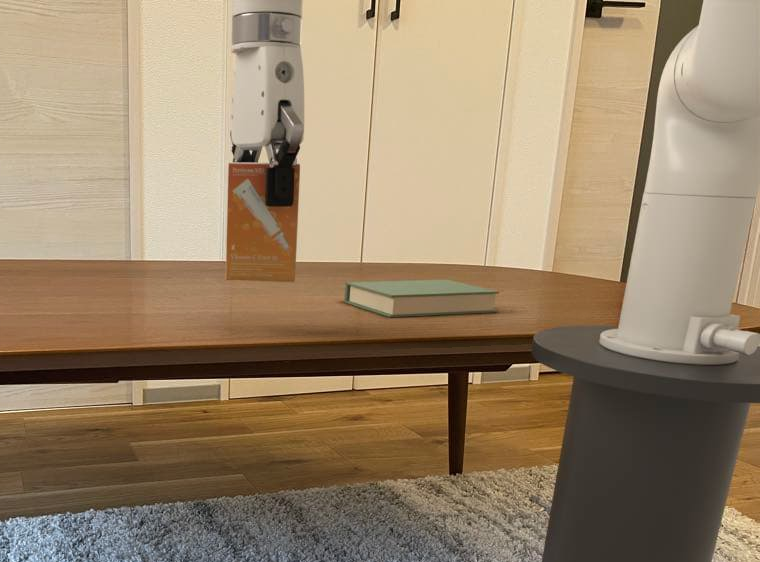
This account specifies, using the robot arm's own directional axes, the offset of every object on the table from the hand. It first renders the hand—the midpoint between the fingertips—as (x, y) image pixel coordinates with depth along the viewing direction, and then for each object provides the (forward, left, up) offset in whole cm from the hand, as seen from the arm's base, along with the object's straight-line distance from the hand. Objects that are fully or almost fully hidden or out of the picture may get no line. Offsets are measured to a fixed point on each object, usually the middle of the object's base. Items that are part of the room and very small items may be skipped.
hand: (261, 203), depth 89 cm
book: (+10, -31, -15) cm, 35 cm away
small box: (0, 0, -9) cm, 9 cm away
